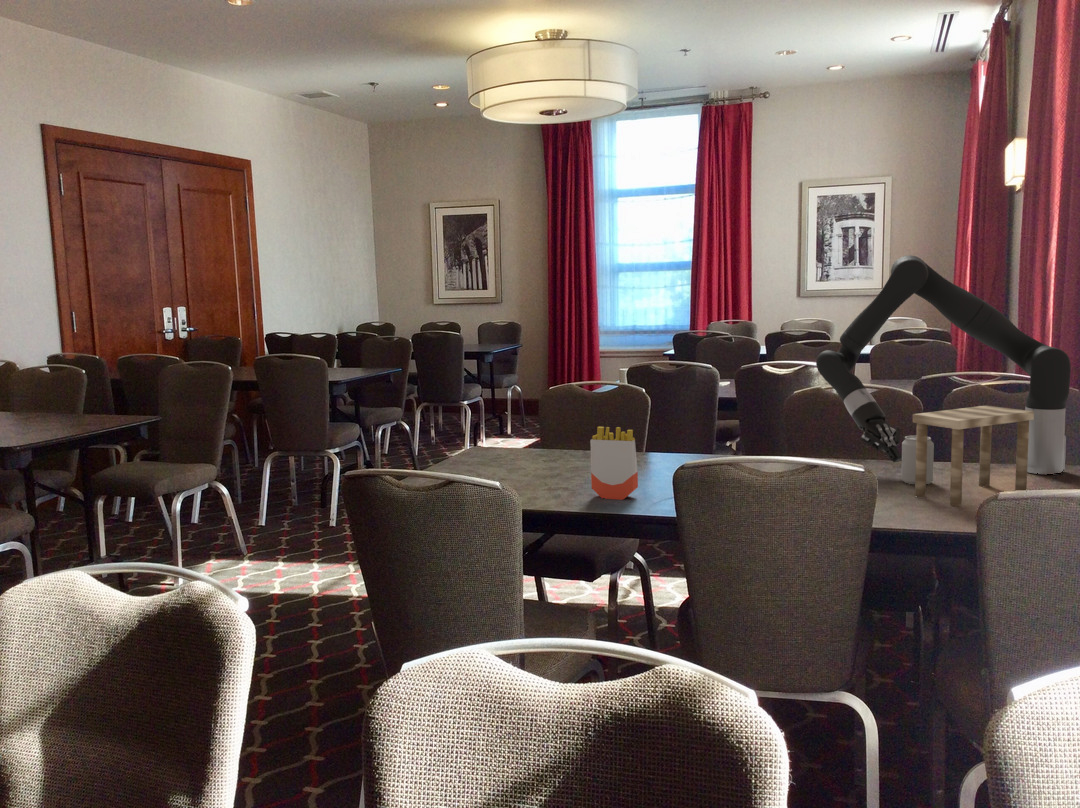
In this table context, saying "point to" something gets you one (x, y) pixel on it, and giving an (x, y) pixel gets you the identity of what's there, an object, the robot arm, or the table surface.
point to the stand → (958, 423)
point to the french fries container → (613, 464)
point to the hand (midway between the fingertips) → (898, 460)
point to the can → (910, 460)
